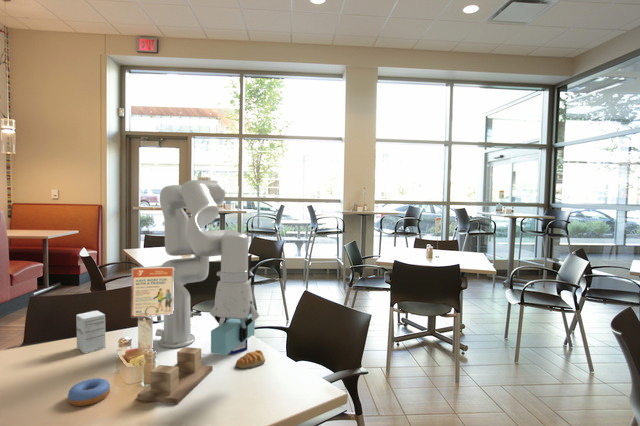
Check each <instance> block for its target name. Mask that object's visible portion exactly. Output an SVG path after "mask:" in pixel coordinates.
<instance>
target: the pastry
mask: <svg viewBox="0 0 640 426" xmlns="http://www.w3.org/2000/svg"><path fill="white" fill-rule="evenodd" d="M265 363H266V357H265V356H264V352H263V351H261V350H260V349H259V350H257V349H255V350H254V351H250V352H247V353H245V354H244V355H243V356H241V357H239V358H238V359H237V360H236V362H235V366H236V367H237V368H240V369H251V368H255V367H259V366H261V365H264V364H265Z"/></svg>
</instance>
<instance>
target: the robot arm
mask: <svg viewBox="0 0 640 426" xmlns="http://www.w3.org/2000/svg"><path fill="white" fill-rule="evenodd" d="M225 198H226V190H225V188H224V186H223V184H222V183H221V182H219V181H218V180H207V179H206V180H205V179H203V180H202V179H191V180H188V181H185V182H184V183H183V184H176V185H175V184H173V185H167V186H164V187H162V188H161V191H160V193H159V204H160V209H161V211H162V215H163V219H164V248H165V249H164V250H165V252H166V254H167V255H169V256H172V257H174V256H175V257H179V256H191V255H193V256H194V257H187V258H186V257H183V258H174V259H169V260H166V261H164V262H163V263H162V265H161V266H160V268H161V267H174V268H175V271H174V311H173V314H170V315H164V314H163V328H157V329H155V334H154V336H156V337H160V339H159V345H160V346H161V347H162V348H166V349H174V348H175V349H177V348H183V347H188V346H189V345H191V344H192V343H194V342H195V341H196V337H195V335H194V334H192V332H191V326H192V323H191V294H190V292H189V291H188V289H187V288H186V287H185V286H184V285H186V284H190V283H197V282H198V283H199V282H203V281H205V280H206V279H207V278H208V276H209V272H210V270H209V269H210V258H211V257H216V256H217V257H218V256H219V257H220V270H219V271H217V272H216V276H217V277H219V279H220V280H219V281H217V285H216V287H215V288H216V289H215V294H214V295H215V297H214V306H213V307H212V308H211V310H210V311H209V315H211V317H213V318H214V320H215V321H216V322H217V323H218V326H220V325H222V324H223V323H225V322H227V319H228V318H232V319H240V321H241V325H242V327H241V328H240V342H243V341H244V340H245V339H246V338H247V336H248V325H249V324H250V323H251V322H253V321H254V320H255V321H256V320H257V319H258V318H260V313H258V311H257V310H256V308H255V307H254V302H253V292H252V285H251V281H250V280H249V237H248V235H247V234H245V233H243V232H239V231H237V230H235V229H216V230H215V229H214V230H213V229H212V230H202V229H201V228H203V227H205V226H208V225H209V224H210V223H212V222H214V221H215V220H216V219H217V218H218V216H219V213H220V212H219V211H220V210H219V206H220V205H221V204H223V203H224V201H225ZM184 209H187V210H188V211H189V213H190V217H189V216H188V214H187V213H186V211H185V210H184ZM249 314H252V317H251V318H249V319H248V316H249Z"/></svg>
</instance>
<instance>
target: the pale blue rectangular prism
mask: <svg viewBox="0 0 640 426" xmlns="http://www.w3.org/2000/svg"><path fill="white" fill-rule="evenodd" d="M251 317H252V314H249V316H248V319H249V318H251ZM255 321H256V319H255V320H254V321H253V322H251V323H250V324H249V325H248V336H247V338H246V339H245V340H247V341H248V339H249V338H251V337H252V336H253V335H255V331H256V329H255V328H256V327H255V325H256V324H255V323H256V322H255ZM241 327H242V325H241V321H240V319H230V320H228V321H227V322H225V323H223V324H222V325H220V326H219V325H218V326H217V327H215V328H213V329H212V330H211V331H210V353H212V354H217V355H221V356H227V355H228V354H229V352H231V351H232V350H233V349H235V348H236V347H237V346H239V345H240V344H241V343H243V342H244V341H245V340H244V341H243V342H240V328H241Z"/></svg>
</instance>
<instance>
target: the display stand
mask: <svg viewBox="0 0 640 426" xmlns="http://www.w3.org/2000/svg"><path fill="white" fill-rule="evenodd" d="M176 352H177V353H176V364H175V365H164V364H163V365H162V364H158V365H157V366H156V367H154V368H153V369H151V370H150V384H149V385H147V386H146V387H145V388H143V389H142V390H141V391H140V392H138V393H137V400H139V401H140V400H141V401H147V402H153V403H154V402H155V403H163V404H172V405H179V404H180V403H181V402H182V401H183V400H184V399H185V398H186V397H187V396H188V395H189V394H190V393H191V392H192V391H193V390H194V389H195V388H196V387H198V385H199V384H200V383H201V382H203V380H204V379H206V378H207V377H208V376H209V375H210V374H211V373H212V372H213V369H214V367H213V365H207V364H202V348H198V347H188V346H183V347H181V349H179V350H178V351H176Z"/></svg>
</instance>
